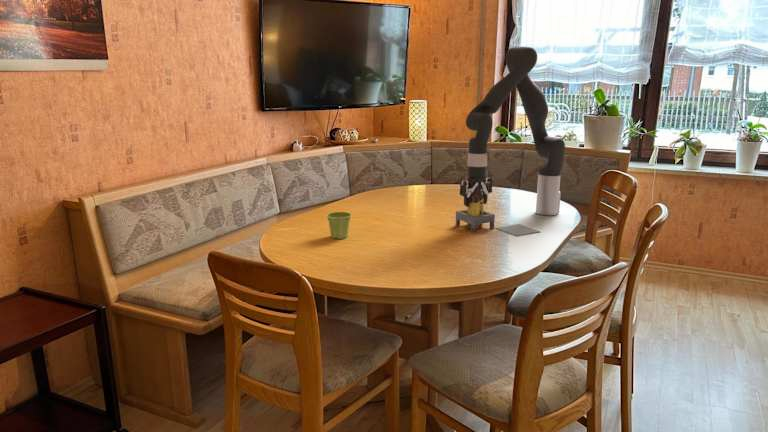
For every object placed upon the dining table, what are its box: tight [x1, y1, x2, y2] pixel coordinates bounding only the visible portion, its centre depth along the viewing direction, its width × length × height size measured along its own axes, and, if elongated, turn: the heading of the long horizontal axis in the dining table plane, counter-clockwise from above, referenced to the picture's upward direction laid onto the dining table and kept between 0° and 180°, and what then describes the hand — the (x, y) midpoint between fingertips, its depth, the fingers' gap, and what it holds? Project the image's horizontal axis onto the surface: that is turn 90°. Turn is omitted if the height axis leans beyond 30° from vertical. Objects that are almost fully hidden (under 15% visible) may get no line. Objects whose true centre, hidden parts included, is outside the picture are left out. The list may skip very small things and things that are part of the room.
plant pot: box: [325, 211, 352, 240], centre depth 216 cm, size 9×9×9 cm
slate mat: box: [495, 223, 541, 237], centre depth 226 cm, size 12×12×1 cm
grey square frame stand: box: [455, 209, 496, 233], centre depth 230 cm, size 10×11×6 cm
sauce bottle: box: [466, 179, 485, 230], centre depth 228 cm, size 7×6×20 cm
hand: (475, 205), depth 228 cm, fingers open, 8 cm apart
